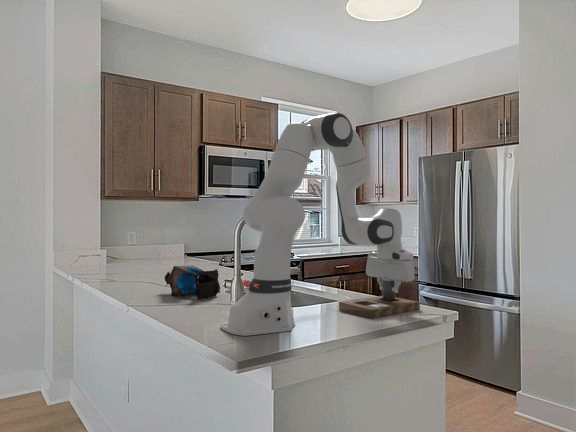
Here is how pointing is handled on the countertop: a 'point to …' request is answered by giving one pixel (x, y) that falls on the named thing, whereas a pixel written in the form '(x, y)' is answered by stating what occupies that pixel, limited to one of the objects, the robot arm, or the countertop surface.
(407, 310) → the socket plate
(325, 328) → the countertop surface
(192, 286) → the lantern
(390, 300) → the plug
